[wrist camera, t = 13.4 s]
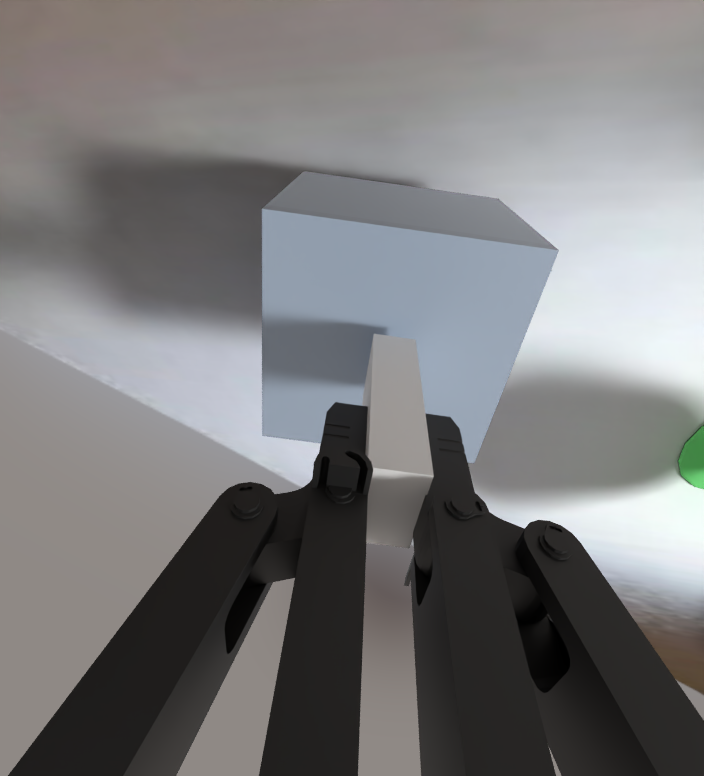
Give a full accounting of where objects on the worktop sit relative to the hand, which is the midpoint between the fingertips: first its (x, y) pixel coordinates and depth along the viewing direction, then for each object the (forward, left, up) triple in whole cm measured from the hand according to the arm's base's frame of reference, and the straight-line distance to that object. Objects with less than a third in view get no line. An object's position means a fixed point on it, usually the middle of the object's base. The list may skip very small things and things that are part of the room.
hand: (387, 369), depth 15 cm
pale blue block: (0, 0, -9) cm, 9 cm away
